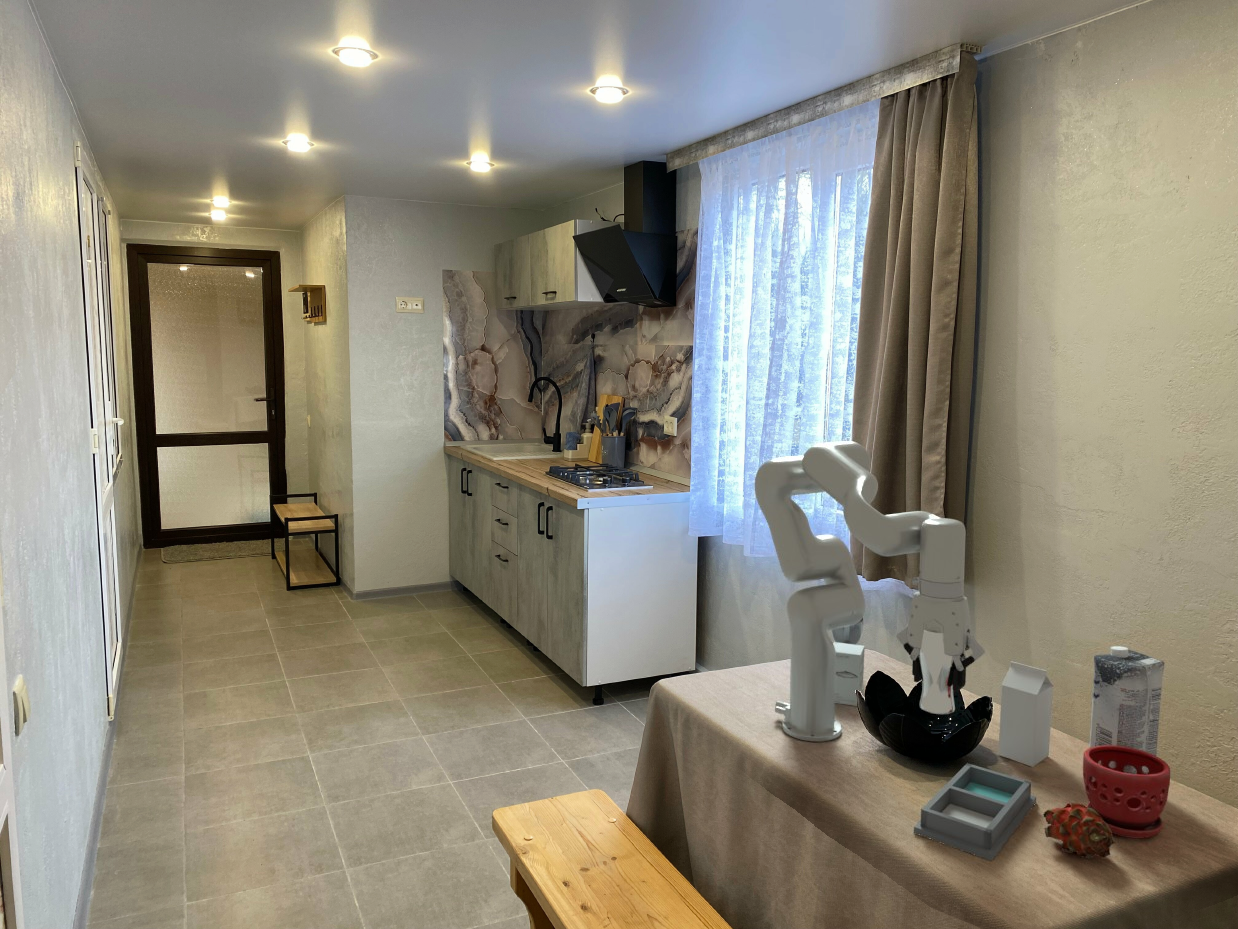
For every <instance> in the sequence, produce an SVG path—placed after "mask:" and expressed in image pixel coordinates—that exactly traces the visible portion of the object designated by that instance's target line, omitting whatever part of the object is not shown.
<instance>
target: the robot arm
mask: <svg viewBox="0 0 1238 929" xmlns="http://www.w3.org/2000/svg"><path fill="white" fill-rule="evenodd" d="M871 463H872V462H871V457H870V454H869V452H868V451H867V449H866V448H865V447H864V445H861V444H860V443H858V442H856V441H853V440H851V441H848V440H847V441H846V440H845V441H834V442H822V443H817V444H815V445H813V446H811V447H809V448H808V449H807V450H806V451H805V452H804V454H803V455H791V456H783V457H776V458H773V459H769V460H767V461H765V462H764V463H763V464H761V465H760V467H759V468H758V470H757V472H756V475H755V478H754V494H755V499H756V501H757V503H758V506H759V508H760V510H761V512H762V514H763V517H764V519H765V520H766V521H765V522H766V523H767V525H768V528H769V532H770V535H771V536H770V537H771V540H772V542H773V545H774V549H775V552H776V555H777V559H778V562H779V566H780V568H781V572H782V573H783V576H784V577H785V579H786V580H788V581H789V582H791V583H807V582H813V581H819V580H823V581H824V584H820V585H814V586H810V587H809V586H808V587H805V588H802V589H798V590H796V592H794V593H793V594H791V595H790V597H789V598H788V600H787V603H786V616H787V623H788V628H789V636H790V678H789V679H790V682H789V684H790V685H789V687H790V688H789V703H788V702H786V701H783V700H777V701H775V702H776V703H775V709H774V712H775V713H777V714H779V715H783V716H784V718H783V719H782V728H781V729H782V730H783V731H784V733H785V734H787V735H789V736H790V737H792V738H795V739H798V740H801V741H807V742H816V743H817V742H827V741H832V740H834V739H835V740H836V739H837V738H838V737H840V736H841V735H842V731H843V730H842V728H843V727H842V725H841V723H840V722H839V721H838V720H837V719H835V718H836V717H835V716H836V712H835V711H836V709H835V708H836V703H835V681H836V651H835V647H834V645H833V643H834V642H833V641H832V639H831V638H830V636H829V631H831V630H833V629H836V628H841V627H845V626H850V625H854V624H856V623H858V622H859V621H860V620H861V619H862V618H863V619H864V617H865V612H866V600H865V595H864V592H863V589H862V586H861V583H860V580H859V576H858V573H857V570H856V567H855V564H854V560H853V558H852V554H851V552H850V549H849V548H848V546H847V544H846V543H845V542H844V541H843V540H842V539H841V538H840V537H838V536H836V535H834V534H820V535H814V534H813V531H812V530H811V529H812V528H811V527H810V522H809V520H808V516H807V515H806V512H804V510H803V509H802V508H801V506H799V504H798V503H796V502H795V500H793V499H792V496H797V495H798V496H799V495H800V496H801V495H810V494H818V493H826V494H827V495H829V496H830V497H831V498H832V499H834V500H835V501H836V502H837V503H838V504H840V505H841V506H842V507H843V508H842V509H843V511H842V512H843V514H842V515H843V517H844V521H845V524H846V526H847V529H848V531H849V532H850V534H851V535H852V536H853V537H854V538H855V539H856V540H857V541H858V542H860V543H861V544H863V546H865V547H866V548H867V549H868V550H870V551H872V552H873V553H875V554H876V555H878V556H881V557H893V556H894V557H895V556H899V555H905V554H906V555H907V554H914V553H919V574H918V575H919V576H917V577H912V579H911V584H912V585H914V586H916V587H917V591H916V592H914V593H913V596H912V599H911V600H912V601H911V604H910V605H911V606H910V611H909V617H908V619H909V620H908V625H907V627H906V628H904V629H902V630H901V631H900V632H899V633H897V634H896V638H897V640H898V641H899V642H900V644H902V646H903V649H904V650H905V651H906V653H908V655H909V658H910V660H912V664H911V665H912V670H911V673H912V676H913V682H914V683H919V682H922V677H921V671H920V664H919V655H918V649H921V645H922V638H923V630H928V631H931V632H938V633H944V638H943V643H944V654H946V655H949V656H954V659H953V660H954V663H955V665H956V669H954V670H953V692H955V693H958V692H959V691H960V690H962V689H964V688H963V687H965V686H966V682H967V680H966V678H967V676H966V675H967V667H969V666H971V665H972V664H973V663H975V662H976V661H978V660H979V659H980V658H981V657H982V656H984V655H985V653H986V651H985V649H984V648H983V647H982V646H981V644H980V643H979V642H978V641H977V640H976V639H975V638H974V637H973V635H972V625H971V624H972V623H971V613H970V606H969V601H968V597H967V596H965V595H964V592H965V563H966V562H965V561H966V537H967V536H966V535H967V532H966V527H965V524H964V523H963V522H962V521H960V520H957V519H954V518H947V517H946V518H944V517H940V516H937V515H935V514H933V513H931V512H929V511H924V510H915V511H907V512H900V513H899V512H898V513H892V514H890V513H889V514H883V513H881V512H880V511H879V510H877V509H876V508H875V507H873V506H872V505H871V503H872V502H873V501H874V500H875V498H876V496H877V493H878V490H879V483H878V479H877V477H876V476H875V474H873V473H871V472H870V470H871V466H872V464H871ZM968 650H971V651H972V653H971V654H970V655H969V656H968V657H967V655H966V652H965V651H968Z"/></svg>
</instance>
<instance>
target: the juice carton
mask: <svg viewBox="0 0 1238 929" xmlns="http://www.w3.org/2000/svg"><path fill="white" fill-rule="evenodd" d="M1165 664H1166V663H1165V661H1163V660H1161V659H1157V658H1155V657H1151V656H1149V655H1146V654H1143V653H1140V652H1137V651H1134V650H1132V649H1129V648H1128V647H1126V646H1120V645H1117V646H1115V645H1113V646H1110V653H1108V654H1106V653H1105V654H1095V655H1094V656H1093V665H1094V671H1093V672H1094V673H1093V688H1092V703H1091V705H1092V706H1091V716H1090V718H1091V719H1090V734H1089V747H1088V749H1089V748H1091V747H1095V746H1102V745H1114V746H1123V747H1129V748H1134V749H1138V750H1141V751H1145V752H1148V753H1150V754H1152V755H1155V756H1157V752H1158V750H1157V749H1158V739H1159V738H1158V737H1159V729H1160V728H1159V727H1160V726H1159V725H1160V713H1161V703H1162V702H1161V700H1162V698H1161V697H1162V688H1163V686H1162V685H1163V675H1164V670H1165ZM1098 764H1099V765H1100V764H1101V761H1099V762H1098ZM1109 766H1110V767H1111V768H1114V767H1115V766H1116V762H1114V761H1111V762H1110V763H1109ZM1142 770H1143V772H1144V773H1148V772H1149V770H1148V768H1147V767H1145V766H1143V767H1142ZM1124 772H1125V773H1129V774H1137V771H1136V769H1135V768H1134V767H1133V766H1131V765H1127V766H1125V767H1124ZM1093 779H1094V777H1093V776H1092V780H1093Z"/></svg>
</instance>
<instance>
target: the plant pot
mask: <svg viewBox="0 0 1238 929" xmlns="http://www.w3.org/2000/svg"><path fill="white" fill-rule="evenodd" d="M1099 761H1101V764H1100V765H1099V764H1098V762H1099ZM1111 761H1114V762H1116V766H1115V767H1114V768H1111V767H1110V766H1109V763H1110V762H1111ZM1127 765H1131V766H1133V767H1134V768H1135V769H1136V771H1137V774H1129V773H1125V772H1124V767H1125V766H1127ZM1143 766H1145V767H1147V768H1148V770H1149V772H1148V773H1144V772H1143V770H1142V767H1143ZM1092 776H1093V777H1094V779H1093V780H1092ZM1082 778H1083V784H1084V791H1085V794H1086V797H1087V799H1088V801H1089V803H1087V805H1086V807H1087V808H1091V809H1093V810H1095V811H1096V812H1097V813H1098V814H1099V815H1100V816H1101V817H1102V819H1103V821H1104V822H1106V824H1107V825H1108V826H1109V828H1110V829H1111V832H1112V834H1115V835H1118V836H1121V837H1126V838H1133V839H1147V838H1150V837H1153V836H1155V835H1158V833H1160V832H1162V830H1163V827H1164V822H1163V820H1162V818H1161V814H1162V813H1163V811H1164V809H1165V807H1166V804H1167V802H1168V796H1169V790H1170V784H1171V783H1170V782H1171V768H1170V766H1169V764H1168V763H1167V762H1166V761H1164V760H1163V759H1162V758H1160V757H1159V756H1157V755H1156V756H1155V755H1152V754H1150V753H1148V752H1145V751H1141V750H1138V749H1134V748H1129V747H1123V746H1114V745H1102V746H1095V747H1091V748H1089V747H1088V748H1087V749H1086V750H1085V751H1084V752H1083V758H1082Z"/></svg>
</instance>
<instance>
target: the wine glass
mask: <svg viewBox="0 0 1238 929" xmlns="http://www.w3.org/2000/svg"><path fill="white" fill-rule="evenodd" d="M863 630H864V617H863V618H862V619H861V620H860V621H859V622H858V623H856V624H854V625H850V626H845V627H841V628H836V629H833V630H830V633H831V637H832V640H833V642H837V643H845V644H853V645H858V643H859V642H860V640H861V639H862V635H863Z"/></svg>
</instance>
